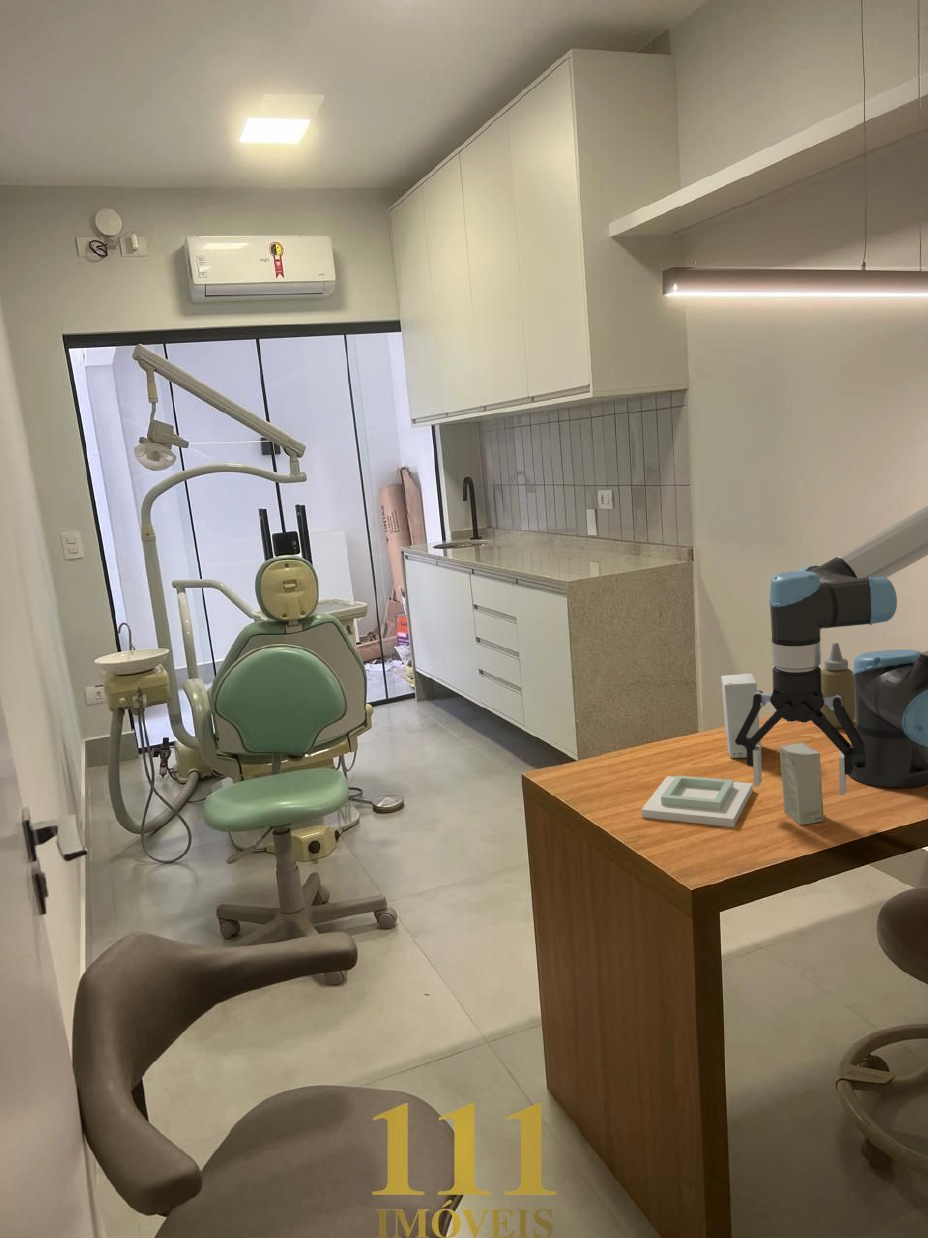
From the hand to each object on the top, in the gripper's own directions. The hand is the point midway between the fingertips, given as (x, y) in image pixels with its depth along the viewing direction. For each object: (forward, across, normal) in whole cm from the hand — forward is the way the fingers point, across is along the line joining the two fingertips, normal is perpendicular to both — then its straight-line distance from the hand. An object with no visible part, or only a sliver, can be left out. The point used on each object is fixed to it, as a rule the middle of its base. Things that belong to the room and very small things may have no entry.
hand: (799, 788), depth 151 cm
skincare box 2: (+6, 0, 0) cm, 6 cm away
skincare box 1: (+5, +16, -29) cm, 34 cm away
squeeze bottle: (+5, 0, -49) cm, 49 cm away
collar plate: (+5, +18, -1) cm, 18 cm away
